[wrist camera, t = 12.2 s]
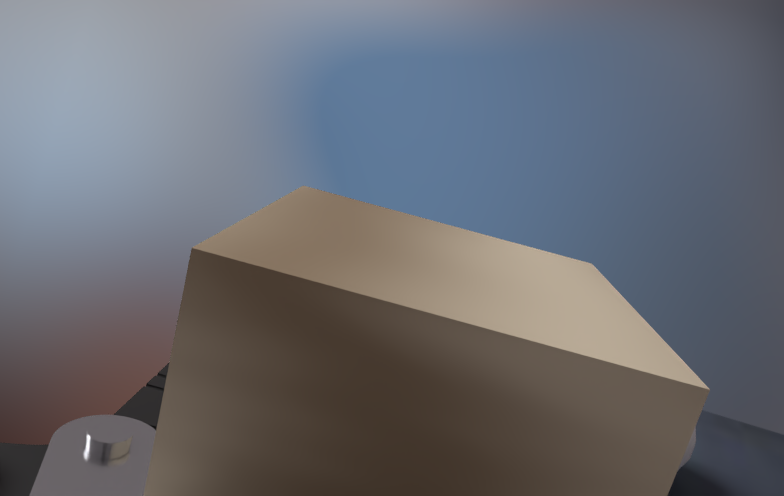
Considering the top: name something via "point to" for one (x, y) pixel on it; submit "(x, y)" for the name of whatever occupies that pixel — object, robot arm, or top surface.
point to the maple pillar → (410, 366)
